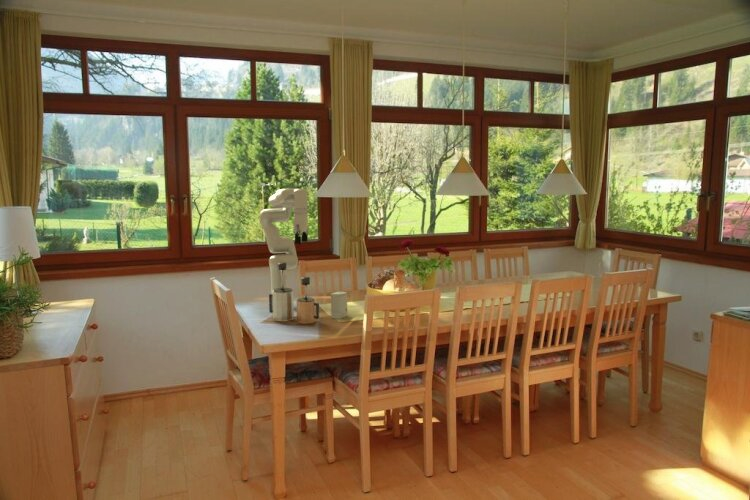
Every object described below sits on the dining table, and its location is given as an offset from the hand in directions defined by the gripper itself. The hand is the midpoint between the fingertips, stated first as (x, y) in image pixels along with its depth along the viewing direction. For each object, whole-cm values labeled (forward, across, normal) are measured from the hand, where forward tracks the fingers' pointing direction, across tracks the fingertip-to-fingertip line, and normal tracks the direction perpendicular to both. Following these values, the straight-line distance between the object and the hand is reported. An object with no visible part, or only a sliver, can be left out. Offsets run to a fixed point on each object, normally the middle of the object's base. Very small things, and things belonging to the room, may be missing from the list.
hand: (301, 242), depth 315 cm
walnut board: (+42, +12, -1) cm, 44 cm away
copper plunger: (+32, +12, +7) cm, 35 cm away
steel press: (+41, +11, -8) cm, 43 cm away
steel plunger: (+29, +11, -7) cm, 31 cm away
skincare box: (+43, -3, +21) cm, 48 cm away
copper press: (+41, +12, +8) cm, 44 cm away
